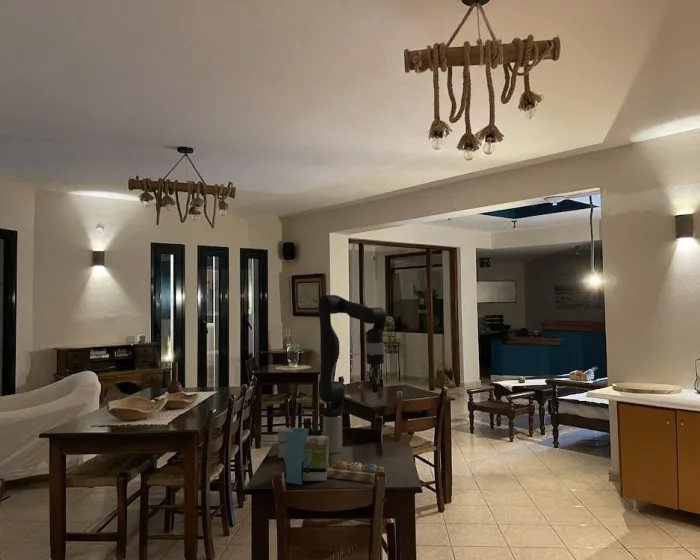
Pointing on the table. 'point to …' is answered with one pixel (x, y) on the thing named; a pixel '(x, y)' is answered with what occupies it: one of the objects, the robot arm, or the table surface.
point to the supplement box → (282, 441)
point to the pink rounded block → (341, 465)
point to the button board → (352, 473)
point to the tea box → (316, 458)
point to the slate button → (370, 468)
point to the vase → (295, 454)
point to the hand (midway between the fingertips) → (375, 392)
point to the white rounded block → (355, 466)
